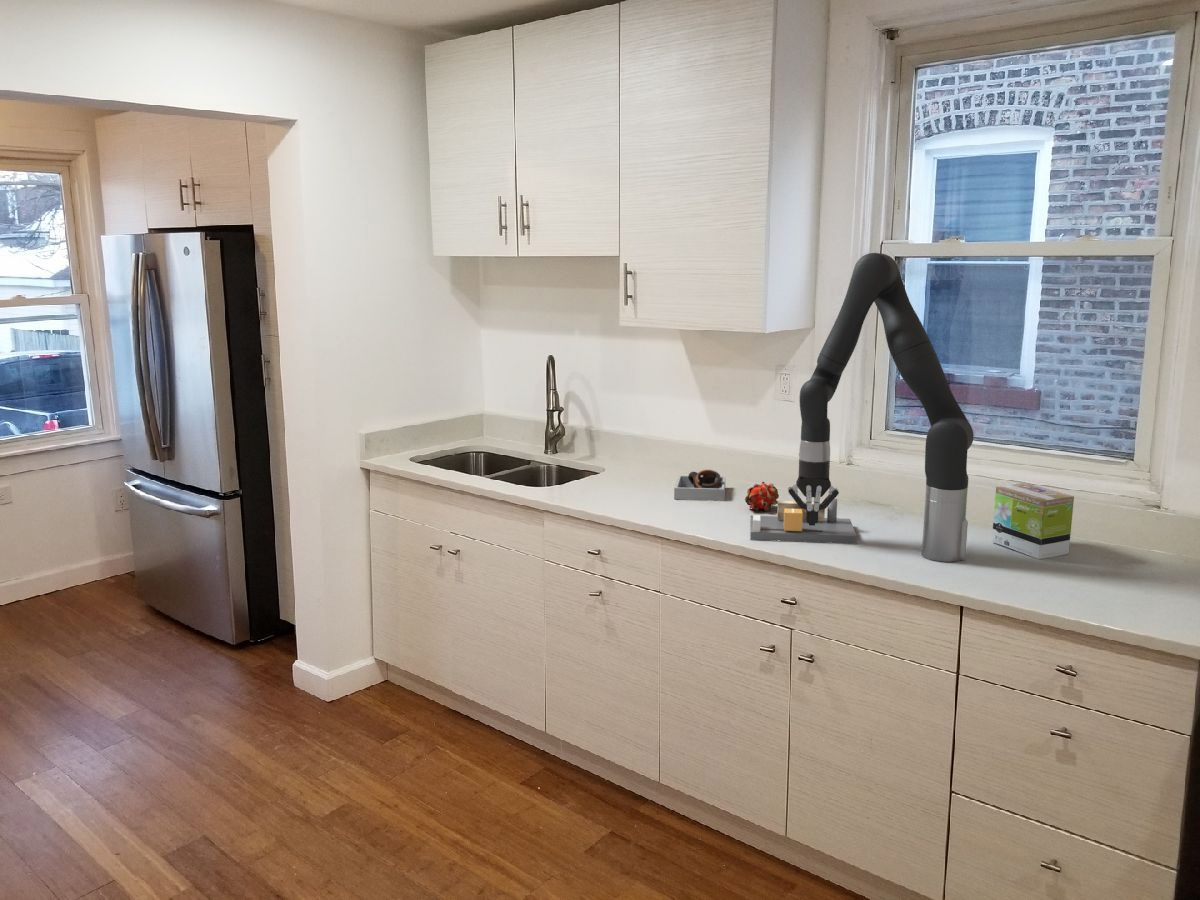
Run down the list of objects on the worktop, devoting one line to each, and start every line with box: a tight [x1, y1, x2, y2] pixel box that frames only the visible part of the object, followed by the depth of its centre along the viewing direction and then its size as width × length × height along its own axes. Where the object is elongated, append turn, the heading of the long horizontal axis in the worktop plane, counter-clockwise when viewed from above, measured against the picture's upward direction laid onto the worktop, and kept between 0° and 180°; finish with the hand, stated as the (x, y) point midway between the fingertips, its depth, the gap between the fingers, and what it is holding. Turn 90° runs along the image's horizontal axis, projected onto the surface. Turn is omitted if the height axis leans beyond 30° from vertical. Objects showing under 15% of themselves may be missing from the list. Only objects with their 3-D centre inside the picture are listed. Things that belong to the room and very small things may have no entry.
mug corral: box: [673, 475, 727, 502], centre depth 287 cm, size 15×17×4 cm
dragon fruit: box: [744, 481, 780, 512], centre depth 267 cm, size 8×8×12 cm
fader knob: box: [784, 508, 803, 531], centre depth 239 cm, size 4×4×5 cm
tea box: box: [991, 482, 1075, 560], centre depth 228 cm, size 15×10×15 cm, turn 23°
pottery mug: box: [687, 469, 722, 489], centre depth 287 cm, size 12×10×8 cm
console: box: [749, 498, 858, 544], centre depth 244 cm, size 26×16×8 cm, turn 81°
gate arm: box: [776, 500, 826, 521], centre depth 248 cm, size 12×2×4 cm, turn 81°
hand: (812, 524), depth 239 cm, fingers closed
